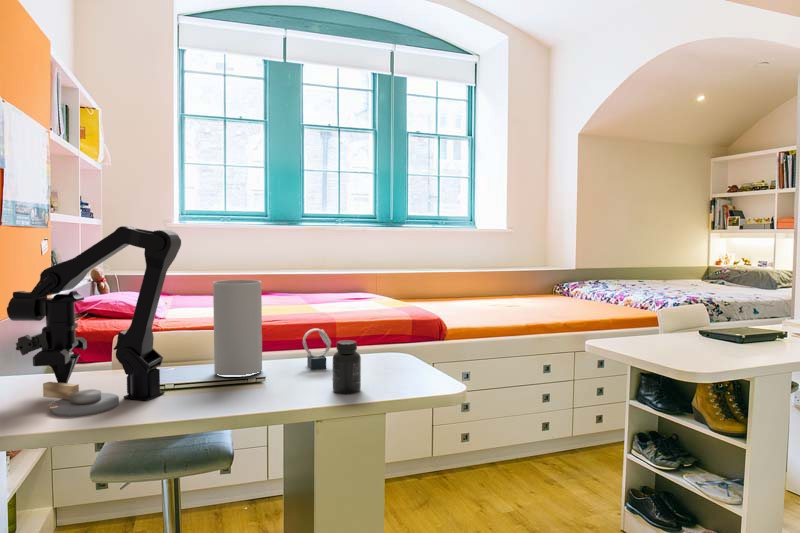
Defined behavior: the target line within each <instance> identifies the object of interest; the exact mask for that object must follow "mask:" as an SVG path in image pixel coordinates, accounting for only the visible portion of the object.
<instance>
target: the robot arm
mask: <svg viewBox="0 0 800 533" xmlns="http://www.w3.org/2000/svg"><path fill="white" fill-rule="evenodd" d="M128 246H133V247H136V248H139V249H144V254H143V255H144V260H145V270H144V274H143V277H142V281H141V286H140V289H139V293H138V297H137V300H136V304H135V308H134V311H133V316H132V320H131V323H130V325H129V327H128V328H127V329H124V330H123V331H120V332H119V331H118V334H117V341H116V344H115V346H114V348H113V350H114V351H115V358H116V359H117V361H118V362H119V364H121V367H122V368H123V370H124V373H125V375H127V376H126V395H123V396H122V397H123V399H125V400H136V401H149V400H151V399H155V398H157V397H159V396H160V395H164V394H165V390H161V373H160V371H161V370H160V369H159V368H158V367H160V366H161V365H162V362H163V360H164V357H163V356H162V355H161V354H160V353H159V352H157V350H155V349H154V338H155V337H154V333H153V324H154V321H155V317H156V313H157V309H158V305H159V301H160V298H161V294H162V290H163V288H164V283H165V279H166V276H167V272H168V270H169V268H170V267H171V265H172V263H173V262H174V261H175V259H176V258H177V255H178V253H179V251H180V249H181V246H182V239H181V238H180V236H179V234H178V233H177V232H176V231H173V230H168V229H167V230H166V229H165V230H164V229H163V230H160V229H159V230H148V229H147V230H146V229H140V228H135V227H134V226H128V225H126V226H119V227H117V228H116V229H115V230H114V231H113V232H111V233H110V234H109V235H107V236H106V237H104V238H102V239H101V240H99V241H98V242H96V243H95V244H92V246H89V247H88V248H87V249H85V250H84V251H82V252H81V253H79V254H78V255H76V256H74V257H73V258H70V259H67V260H65V261H61V262H59V263H57V264H54V265H51V266H50V267H47V268H45V269H43V271H41V272H40V274H39V276H40V277H39V281H38V282H37V283H36V285H35V286H34V287H33V289H32V290H31V291H25V290H18V291H13V292H12V297H11V298H10V300H9V302H8V304H7V307H6V312H7V313H6V314H7V317H8V318H9V319H10V321H11V322H18V321H19V322H20V321H21V322H27V321H28V322H40V321H42V320H44V318H45V326H43V327H42V328H41V332H40V333H38V334H34V335H32V336H30V335H29V334H25V335H23V336H20V337H18V338H17V342H15V345H16V347H15V350H16V351H19V352H20V354H21V355H22V356H26V355H28V354H29V353H31V352H34V351H36V350H40V349H41V350H40V351H39V352H37V353H36V354H35V355H33V357H32V366H33V367H43V366H44V367H46V366H47V367H51V369H52V372H53V375H54V376H55V379H56V381H57V383H69V380H70V379H71V375H72V373H73V371H74V369H75V366H76V364H77V362H78V360H79V359H80V358H79V357H80V356H81V353H74V351H73V350H74V349H75V350H76V349H80V350H81V351H85V350H86V349H87V348H88V346H87V345H88V342H87V339H85V338H84V337H82V336H81V337H80V336H79V337H77V336H76V329H78V327H79V326H78V323H77V322H76V313H75V312H76V311H75V310H76V309H75V306H76V305H75V303H77V302H81V301H84V300H85V297H84V296H83V295H82V294H80V293H79V292H78V291H77V290H73V289H75V287H77V286H78V285H79V284H80V283H81V282H82V281H83V280H84V279H85V278H86V276H87V274H88V273H89V272H91V270H93V269H94V268H96V267H97V266H99V265H101V264H102V263H103V262H105V261H107V260H108V259H110V258H111V257H113V256H114V255H116V254H117V253H119V252H120V251H122V250H123V249H125V248H126V247H128ZM70 290H71V291H70ZM66 291H70V292H69V293H64V294H63V293H62V294H61V292H66ZM52 295H54V296H52ZM48 296H52V297H48Z"/></svg>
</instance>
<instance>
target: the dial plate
mask: <svg viewBox="0 0 800 533" xmlns="http://www.w3.org/2000/svg"><path fill="white" fill-rule="evenodd" d="M119 397H120V396H119V395H117V394H116V393H109V392H101V400H99V401H97V402H94V403H90V404H83V405H74V404H70V399H60V398H59V399H57V400H56V401H53V402H52V404H51V405H50V407H49V409H50V413H51V414H52V415H54V416H58V417H64V418H65V417H66V418H67V417H70V418H71V417H72V418H73V417H82V416H90V415H95V414H99V413H100V414H101V413H103V412H107V411H110V410H112V409H115V408H116V407H117V406H119V404H120V401H119V400H120V398H119Z"/></svg>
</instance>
